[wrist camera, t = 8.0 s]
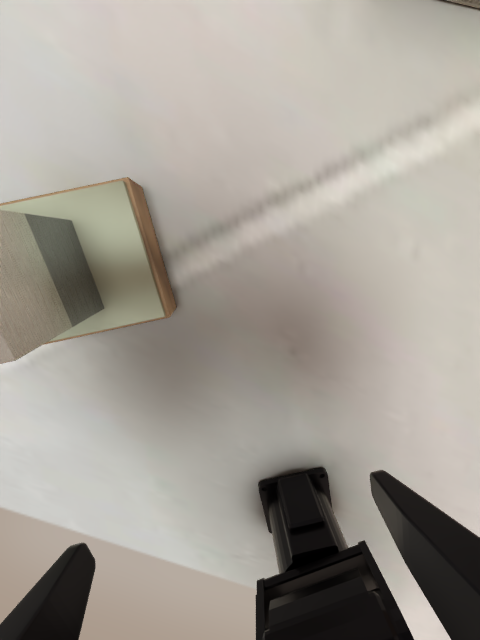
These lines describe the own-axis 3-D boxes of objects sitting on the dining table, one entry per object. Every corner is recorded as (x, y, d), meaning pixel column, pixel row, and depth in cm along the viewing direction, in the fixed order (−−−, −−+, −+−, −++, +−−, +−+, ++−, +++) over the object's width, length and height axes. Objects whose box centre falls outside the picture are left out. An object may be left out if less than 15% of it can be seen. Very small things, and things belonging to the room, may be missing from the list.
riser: (176, 307, 19) (168, 319, 16) (12, 342, 18) (-26, 360, 16) (141, 187, 16) (125, 175, 13) (-47, 226, 16) (-105, 223, 13)
